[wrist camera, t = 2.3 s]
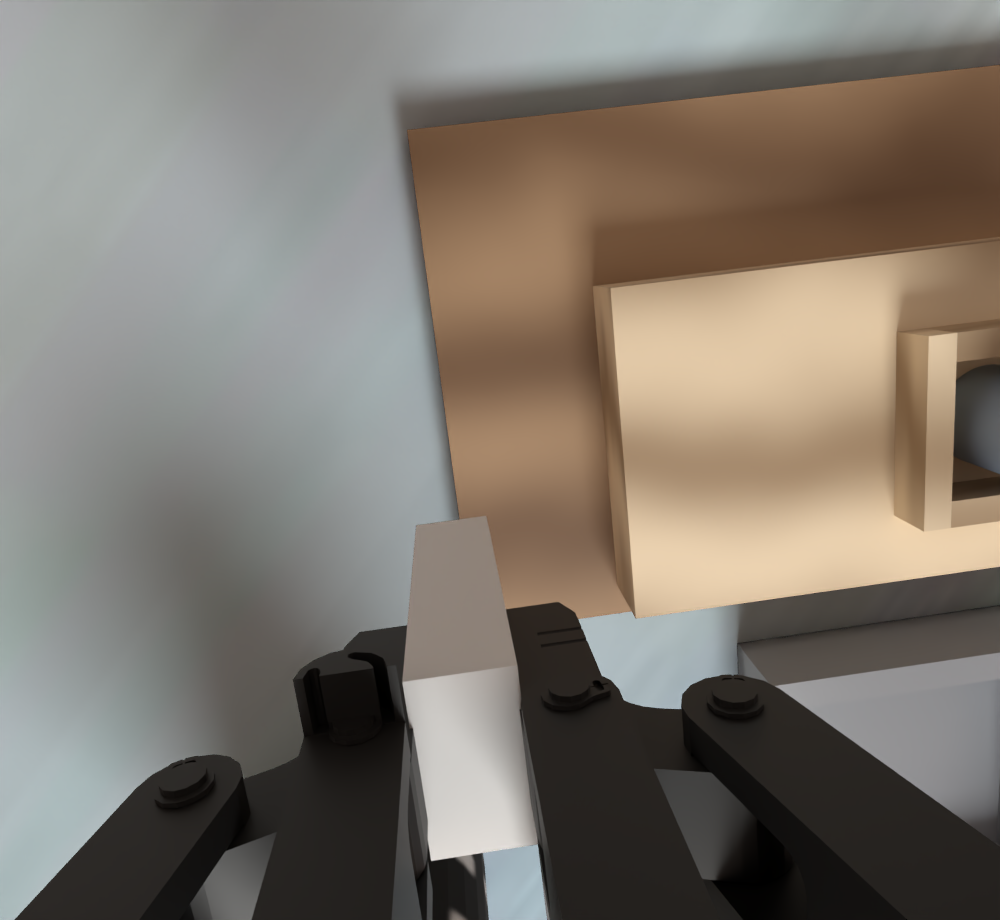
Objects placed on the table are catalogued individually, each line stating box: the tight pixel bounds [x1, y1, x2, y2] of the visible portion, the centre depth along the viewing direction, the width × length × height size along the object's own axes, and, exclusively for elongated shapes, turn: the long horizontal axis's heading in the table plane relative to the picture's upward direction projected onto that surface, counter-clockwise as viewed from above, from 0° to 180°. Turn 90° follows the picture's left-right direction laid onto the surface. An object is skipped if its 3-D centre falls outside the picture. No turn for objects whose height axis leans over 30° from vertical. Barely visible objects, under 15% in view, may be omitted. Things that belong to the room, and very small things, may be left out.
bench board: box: [407, 65, 1000, 619], centre depth 25 cm, size 16×26×1 cm, turn 96°
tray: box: [737, 606, 1000, 846], centre depth 28 cm, size 11×11×3 cm
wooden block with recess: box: [593, 237, 1000, 618], centre depth 23 cm, size 10×14×4 cm
